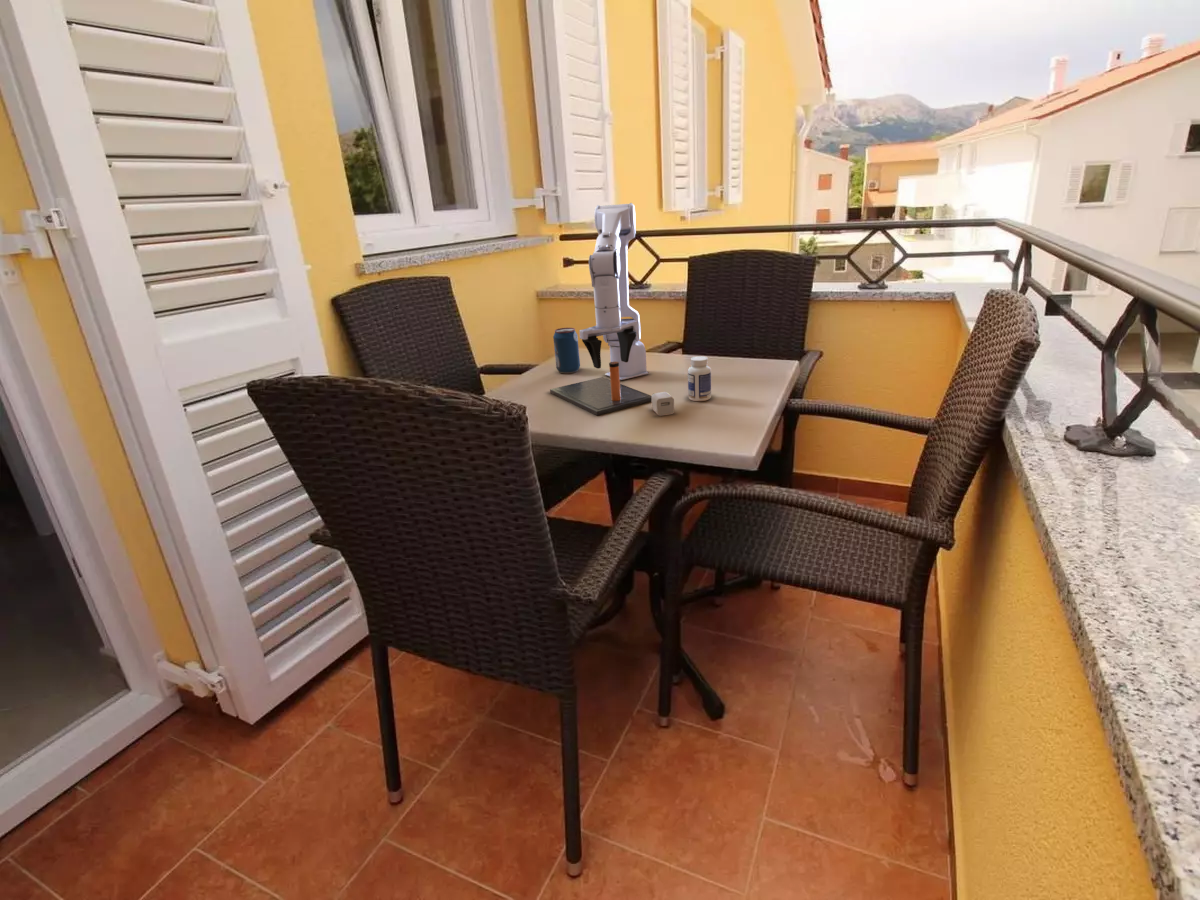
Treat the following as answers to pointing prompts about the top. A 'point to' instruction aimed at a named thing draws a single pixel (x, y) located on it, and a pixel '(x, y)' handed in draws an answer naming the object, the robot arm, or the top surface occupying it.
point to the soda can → (566, 350)
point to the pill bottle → (699, 379)
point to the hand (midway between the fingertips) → (611, 364)
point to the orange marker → (615, 381)
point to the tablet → (599, 396)
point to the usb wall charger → (662, 403)
